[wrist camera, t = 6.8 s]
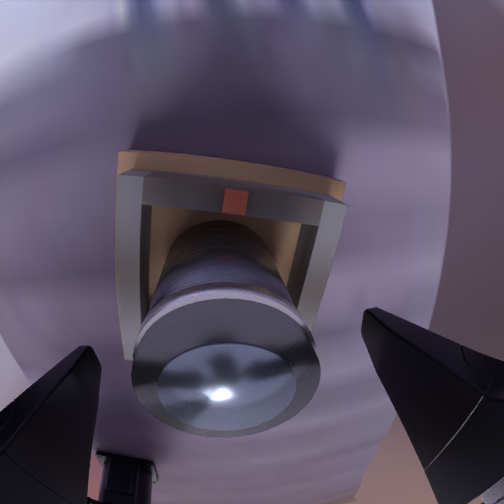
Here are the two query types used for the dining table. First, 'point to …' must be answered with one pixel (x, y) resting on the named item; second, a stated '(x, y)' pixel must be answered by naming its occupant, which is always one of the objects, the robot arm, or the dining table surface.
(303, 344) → the lens
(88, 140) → the dining table surface
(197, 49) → the dining table surface
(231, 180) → the mount
